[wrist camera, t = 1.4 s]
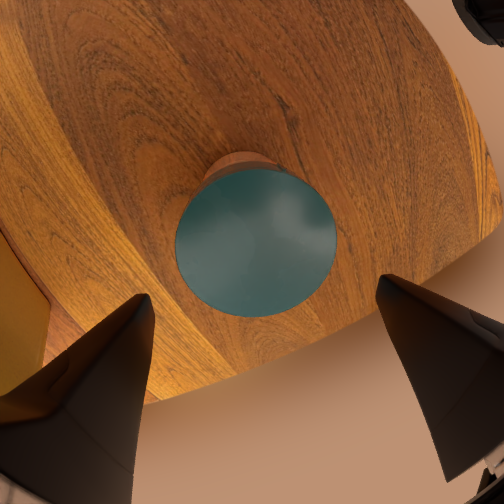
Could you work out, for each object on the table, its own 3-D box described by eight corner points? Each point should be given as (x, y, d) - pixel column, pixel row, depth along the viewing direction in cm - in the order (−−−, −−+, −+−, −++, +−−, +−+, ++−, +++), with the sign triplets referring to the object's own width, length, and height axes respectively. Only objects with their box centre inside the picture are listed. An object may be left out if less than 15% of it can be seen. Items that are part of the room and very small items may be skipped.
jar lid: (203, 141, 12) (199, 145, 10) (342, 186, 13) (362, 199, 11) (170, 273, 14) (162, 299, 12) (291, 301, 16) (300, 327, 14)
